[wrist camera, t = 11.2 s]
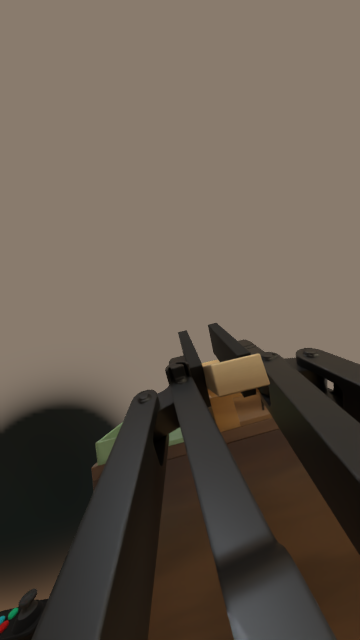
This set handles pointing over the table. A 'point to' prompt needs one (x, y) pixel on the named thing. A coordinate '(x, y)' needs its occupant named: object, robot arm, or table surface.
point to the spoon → (235, 375)
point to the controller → (22, 618)
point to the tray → (108, 441)
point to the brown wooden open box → (236, 410)
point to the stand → (283, 520)
